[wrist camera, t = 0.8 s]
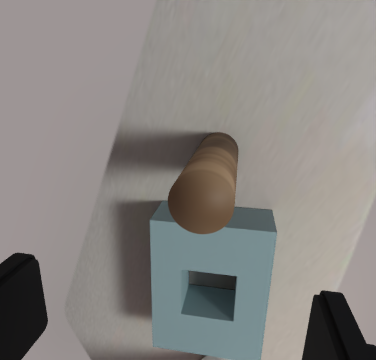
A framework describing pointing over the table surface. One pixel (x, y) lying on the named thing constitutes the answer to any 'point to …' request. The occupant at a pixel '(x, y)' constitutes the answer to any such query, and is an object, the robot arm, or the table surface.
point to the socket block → (209, 296)
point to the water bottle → (213, 358)
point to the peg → (206, 186)
